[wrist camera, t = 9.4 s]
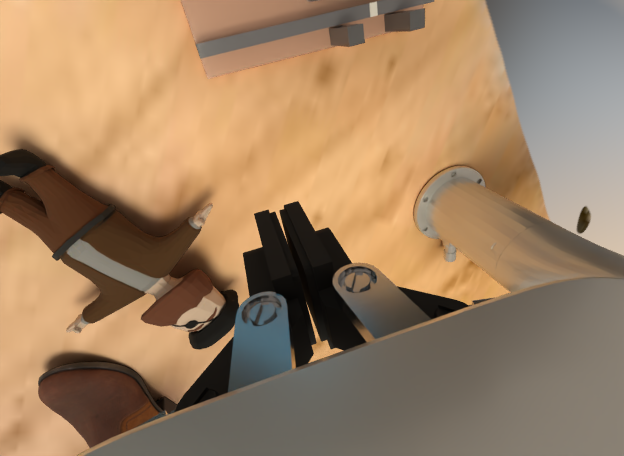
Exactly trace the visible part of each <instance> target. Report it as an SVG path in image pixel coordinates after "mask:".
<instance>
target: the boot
mask: <svg viewBox="0 0 624 456" xmlns="http://www.w3.org/2000/svg"><path fill="white" fill-rule="evenodd" d="M38 384H39V389H38V394H39V397H40V399H41V401H42V402H43V403H44V404H45V405H46V406H48V407H49V408H50V409H51V410H53V411H54V412H56V413H57V414H59V415H60V416H62V417H63V418H64V419H65V420H67V421H68V422H69V423H70V424H71V425H72V426H73V427H74V428H75V429H76V430H77V431H78V432H79V434H80V435H81V436H82V437H83V438H84V439H85V441H86V442H87V444H88V445H89V447H90V448H91V447H94V446H96V445H98V444H100V443H102V442H104V441H106V440H108V439H110V438H112V437H114V436H117V435H119V434H122V433H124V432H126V431H129V430H131V429H133V428H135V427H137V426H139V425H140V424H142V423H144V422H146V421H147V420H149V419H151V418H153V417H154V416H156V415H158V414H160V413H161V412H163V411H166V412H167V413H168V414H169V413H170V412H172V411H174V410H175V409H176V407H177V405H176V404H175V403H173V402H172V401H170V400H169V399H167V398H165V397H163V398H162V399H160V400H158V401H157V402H155V401H154V400H153V398H152V397H151V395H150V393H149V392H148V390H147V388H146V386H145V384H144V382H143V380H142V379H141V377H140V376H139V375H138V374H137V373H136V372H135V371H133V370H132V369H130V368H127V367H124V366H121V365H118V364H114V363H107V362H80V363H72V364H67V365H63V366H59V367H56V368H54V369H51V370H49V371H47V372H46V373H44V374H43V375H42V376H41V377H40V378H39V381H38Z"/></svg>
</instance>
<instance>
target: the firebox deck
mask: <svg viewBox="0 0 624 456" xmlns="http://www.w3.org/2000/svg"><path fill="white" fill-rule="evenodd" d="M430 2H434V0H319V1H313V2H308V1H307V0H181V3H182V6H183V8H184V11H185V14H186V17H187V20H188V23H189V26H190V29H191V32H192V35H193V38H194V40H195V43H196V47H197V50H198V53H199V56H200V58H201V61H202V64H203V67H204V69H205V72H206V75H207V78H208V79H209V78H213V77H217V76H221V75H225V74H229V73H233V72H237V71H241V70H245V69H249V68H253V67H257V66H261V65H264V64H268V63H272V62H276V61H280V60H284V59H288V58H292V57H296V56H300V55H304V54H308V53H312V52H316V51H319V50H323V49H327V48H331V47H335V46H346V47H350V46H354V45H358V44H362V43H365V39H367V38H371V37H375V36H378V35H382V34H386V33H390V32H395V31H413V30H417V29H421V28H424V27H425V8H423V4H426V3H430Z"/></svg>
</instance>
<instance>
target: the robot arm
mask: <svg viewBox="0 0 624 456" xmlns="http://www.w3.org/2000/svg"><path fill="white" fill-rule="evenodd" d="M279 211H280V215H281V219H282V223H283V227H284V231H285V235H286V238H287V241H286V238H285V236H284V233H283V231H282V228H281V226H280V223H279V220H278V218H277V215H276V213H275V212H272V213H269V210H265V211H262V212H258V213H255V214H254V215H255V219H256V223H257V227H258V231H259V234H260V238H261V242H262V246H263V247H261V248H258V249H255V250H251V251H248V252H245V253H243V257H244V264H245V270H246V276H247V282H248V289H249V295H250V297H249V298H248V299H246V300H245V301H244V302H243V303H242V304H241V305H240V307H239V308H238V310H237V314H236V320H235V330H234V337H233V338H232V339H231V340H230V341H229V342H228V344H227V345H226V346H225V347H224V348H223V350H222V351H221V352H220V353H219V354H218V355H217V357H216V358H215V359H214V360H213V361H212V363H211V364H210V365H209V366H208V367H207V368H206V370H205V371H204V372H203V373H202V374H201V376H200V377H199V378H198V379H197V380H196V381H195V383H194V384H193V385H192V386H191V387H190V389H189V390H188V391H187V392H186V393H185V394H184V396H183V397H182V399H181V400H180V402H179V403H178V404H177V407H176V409H175V410H174V411H172V412H170V413H169V414H168V413H167V412H166V411H163V412H161V413H160V414H158V415H156V416H154V417H153V418H151V419H149V420H147V421H146V422H144V423H142V424H140V425H139V426H137V427H135V428H133V429H131V430H129V431H126V432H124V433H122V434H119V435H117V436H114V437H112V438H110V439H108V440H106V441H104V442H102V443H100V444H98V445H96V446H94V447H91V448H89V449H87V450H85V451H84V452H82V453H80V454H78V455H77V456H624V256H623V255H621V254H618V253H616V252H613V251H611V250H608V249H606V248H604V247H601V246H598V245H596V244H595V243H592V242H590V241H588V240H586V239H584V238H582V237H580V236H578V235H576V234H574V233H572V232H570V231H568V230H566V229H564V228H562V227H560V226H558V225H556V224H554V223H553V222H551V221H549V220H547V219H545V218H543V217H541V216H539V215H537V214H535V213H533V212H532V211H530V210H528V209H526V208H524V207H522V206H520V205H518V204H516V203H514V202H512V201H511V200H509V199H507V198H505V197H503V196H501V195H499V194H497V193H495V192H493V191H491V190H490V189H488V188H486V186H485V181H484V179H483V177H482V175H481V174H480V173H479V172H478V171H476V170H474V169H472V168H470V167H467V166H454V167H451V168H448V169H446V170H443V171H441V172H440V173H438V174H437V175H436V176H434V177H433V178H432V179H431V180H430V181H429V182H428V183H427V184H426V185H425V187H424V188H423V189H422V191H421V193H420V194H419V196H418V199H417V201H416V204H415V208H414V220H415V224H416V226H417V228H418V229H419V230H420V231H421V232H422V233H423V234H424V235H426V236H427V237H430V238H433V239H441V240H442V241H443V243H442V244H443V246H445V249H444V260H445V261H448V262H453V261H455V259H456V249H458V250H459V251H460V252H461V253H463V254H464V255H465V256H466V257H467V258H469V259H470V260H471V261H472V262H474V263H475V264H476V265H477V266H478V267H480V268H481V269H482V270H483V271H485V272H486V273H487V274H488V275H489V276H491V277H492V278H493V279H494V280H496V281H497V282H498V283H499V284H501V285H502V286H503V287H504V288H506V289H507V290H508V291H510V292H511V293H508V294H505V295H502V296H499V297H496V298H489V299H482V300H475V301H472V305H469V306H468V305H467V304H465V303H463V302H460V301H457V300H454V299H450V298H445V297H441V296H437V295H432V294H428V293H424V292H419V291H415V290H411V289H406V288H402V287H398V286H396V285H395V284H393V283H392V282H391V281H390V280H389V279H388V278H387V277H386V276H385V275H384V274H383V273H382V272H381V271H380V270H379V269H377V268H376V267H374V266H372V265H370V264H367V263H352V262H351V261H350V259H349V258H348V256H347V255H346V253H345V252H344V250H343V249H342V247H341V245H340V244H339V242H338V241H337V239H336V238H335V236H334V235H333V233H332V232H331V230H330V229H329V228H325V229H321V230H318V231H315V230H314V228H313V227H312V225H311V223H310V221H309V219H308V218H307V216H306V214H305V212H304V211H303V209H302V207H301V205H300V203H299V202H298V201H297V202H293V203H290V204H286V205H284V209H283V210H279ZM287 242H288V244H287ZM306 302H307V303H306ZM307 305H308V307H309V310H310V313H311V315H312V318H313V321H314V323H315V326H316V329H317V331H318V334H319V337H320V339H321V341H325V340H327V341H328V343H329V346H330V348H331V349H333V348H338V349H341V350H344V351H342V352H339V353H336V354H333V355H330V356H328V357H325V358H322V359H319V360H317V361H314V362H311V363H308V362H309V361H310V359H311V357H312V356H313V354H314V353H313V349H312V346H311V345H313V344H316V339H315V335H314V331H313V327H312V323H311V319H310V315H309V311H308V307H307Z"/></svg>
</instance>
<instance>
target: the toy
mask: <svg viewBox="0 0 624 456" xmlns="http://www.w3.org/2000/svg"><path fill="white" fill-rule="evenodd" d="M54 168H55V167H54V166H51V165H46V163H45V162H44V161H43V160H41V159H40V158H39V157H37V156H36V155H34V154H33V153H31V152H29V151H27V150H23V149H20V150H14V151H10V152H7V153H4V154H2V155H0V176H10V175H15V176H18V177H20V179H19V181H20V182H26V183H28V184H29V185H30V186H31V188H32V189H33V190H34V191H35V192H36V193H37V195H38V196H39V197H40V198H41V199H42V201H43V202H42V201H39V200H37V199H35V198H33V197H31V196H29V195H27V194H25V193H24V190H22V189H20V188H15V187H14V188H13V187H11V186H10V185H8V184H6V183H5V182H3V181H1V180H0V214H1V213H4V214H5V215H7V216H9V217H10V218H12V219H14V220H15V221H17V222H18V223H20V224H22V225H23V226H25V227H27V228H28V229H30V230H31V231H33V232H34V233H35V234H36V235H37V236H39V237H40V239H41V240H42V241H43V242H44V243H45V244H46V245H47V246H48V247H49V249H50V250H51V251H52V252H53V253H54V254H53V256H52V257H53V258H54V259H55V260H57V261H58V260H59V259H61V260H62V261H63V263H64V264H66V265H67V266H69V267H71V268H72V269H74V270H75V271H77V272H78V273H80V274H82V275H83V276H85V277H86V278H88V279H90V280H91V281H92V282H93V283H94V284H95V285H96V286H97V287H98V288H99V289H100V290H101V293H100V295H99V296H98V298H97V299H96V300H95V301H93V302H92V303H91V304H89V305H88V306H87V307H85V308H84V310H83V312H82V314H80V315H79V316H78V317H77V318H76V320H75V321H74V322H73V323H72V324H71V325H70V326H69V327H68V328H67V330H66V331H67V332H71V331H74V332H75V333H80V332H81V331H82V329H83V328H84V327H85V326H86V325H87V324H89V323H95V322H97V321H99V320H101V319H103V318H104V317H106V316H108V315H110V314H112V313H113V312H115V311H117V310H119V309H121V308H123V307H124V306H126V305H128V304H130V303H131V302H133V301H135V300H137V299H139V298H140V297H142V296H144V295H145V294H146V293H148V294H151V295H154V296H155V298H156V302H155V303H154V304H153V305H152V306H151V307H150V308H149V309H148V310H147V311H146V312H145V313H144V314H143V315H142V317H141V320H143V321H144V322H145V323H148V324H153V325H157V326H169V325H170V326H172V327H174V328H176V329H180V330H184V331H188V332H190V333H189V340H190V344H191V345H192V347H193V348H194V349H203V348H207V347H210V346H211V345H213V344H214V343H216V342H217V341H218V340H220V339H221V338H222V337H223V336H225V335H226V334H227V333H228V332H229V331H230V330H231V329H232V328H233V326H234V324H235V320H236V314H237V310H238V308H239V304H238V296H237V292H236V291H234V290H226V291H223V292H219V291H218V290H217V289H216V288H215V287H214V286H213V285H212V282H211V280H210V279H209V277H208V276H207V275H206V274H205V273H204V272H203V271H201V270H199V269H194V270H192V271H191V272H189V273H188V274H186V275H185V276H183V277H182V278H179V279H177V278H174V277H170V275H169V273H170V272H171V271H172V269H173V268H174V267H175V265H176V264H177V263H178V261H179V260H180V259H181V257H182V256H183V255H184V253H185V252H186V251H187V249H188V248H189V246H190V245H191V244H192V242H193V241H194V240H195V238H196V237H197V236H198V234H199V233H200V231H201V228H202V227H201V225H204V223H205V220H206V218H207V216H208V214H209V212H210V210H211V209H212V207H213V205H212V203H209V204H208V205H207V206H206V207H205V208H203V209H202V210H199V211H198V212H197V213H196V215H195V216H194V217H189V218H187V219H186V220H185V221H184V222H183V223H182V224H181V225H180V226H179V227H178V228H177V229H176V230H174V231H173V232H171V233H169V234H168V235H165V236H162V237H154V236H151V235H149V234H147V233H145V232H143V231H142V230H140V229H139V228H137V227H136V226H135V225H133V224H132V223H131V222H130V221H129V220H127V219H126V218H125V217H124V216H123V215H122V214H121V213H120V212H118V211H116V210H114V209H115V206H113V205H112V204H110V205H109V206H106V205H104V204H102V203H100V202H98V201H96V200H94V199H93V198H91V197H90V196H88V195H86V194H85V193H83V192H81V191H80V190H79V189H77V188H76V187H75V186H73V185H72V184H71V183H69V182H68V181H67V180H65V179H64V178H63V177H61V176H60V175H59V174H57V173H56V172H55V171H53V170H54Z"/></svg>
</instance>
